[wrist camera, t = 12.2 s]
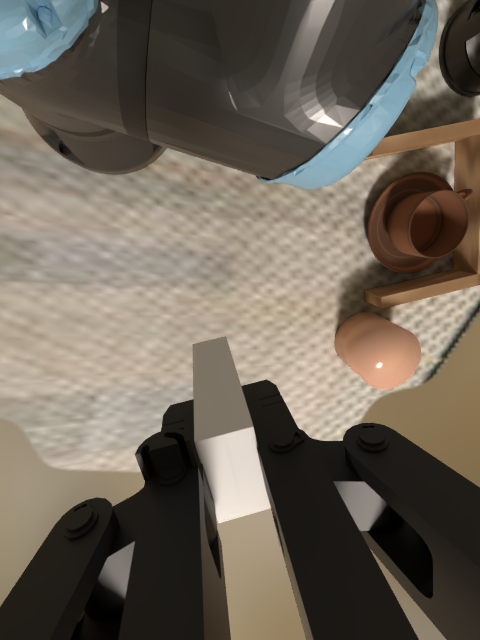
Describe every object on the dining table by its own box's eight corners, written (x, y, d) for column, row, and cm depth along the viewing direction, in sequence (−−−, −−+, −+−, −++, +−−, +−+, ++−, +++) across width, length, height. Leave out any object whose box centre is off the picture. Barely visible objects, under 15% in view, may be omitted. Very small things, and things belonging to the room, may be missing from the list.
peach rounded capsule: (331, 319, 44) (356, 337, 37) (386, 306, 44) (420, 321, 38) (337, 371, 46) (361, 395, 40) (389, 357, 47) (421, 379, 40)
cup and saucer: (399, 153, 39) (436, 141, 33) (464, 208, 42) (509, 205, 36) (343, 241, 41) (368, 244, 35) (409, 286, 44) (442, 296, 38)
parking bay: (353, 148, 38) (372, 139, 34) (466, 125, 39) (496, 115, 35) (365, 301, 44) (382, 308, 40) (462, 277, 45) (487, 282, 41)
